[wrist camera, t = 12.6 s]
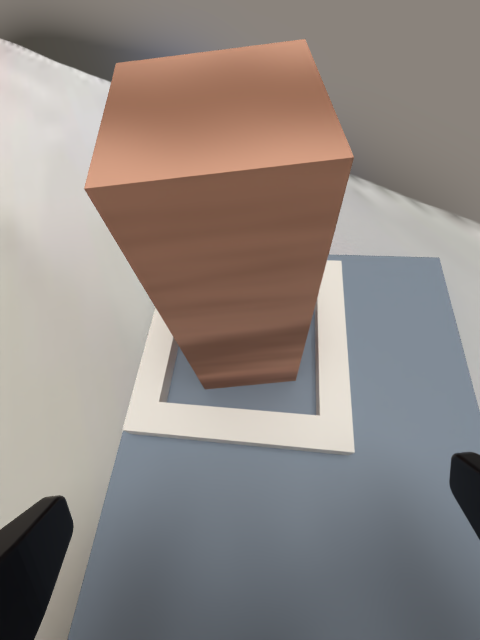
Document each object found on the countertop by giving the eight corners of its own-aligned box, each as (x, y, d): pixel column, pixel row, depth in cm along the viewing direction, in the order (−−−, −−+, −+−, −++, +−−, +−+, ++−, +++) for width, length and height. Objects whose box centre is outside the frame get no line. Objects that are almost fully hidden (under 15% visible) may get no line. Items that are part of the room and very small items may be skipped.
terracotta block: (295, 380, 17) (353, 157, 6) (204, 389, 17) (84, 188, 6) (282, 303, 19) (305, 39, 8) (203, 311, 20) (116, 63, 8)
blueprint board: (556, 777, 11) (619, 839, 9) (67, 681, 13) (31, 714, 11) (432, 267, 21) (448, 244, 19) (174, 259, 23) (166, 238, 21)
